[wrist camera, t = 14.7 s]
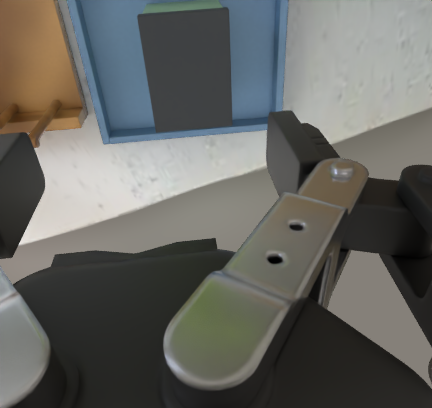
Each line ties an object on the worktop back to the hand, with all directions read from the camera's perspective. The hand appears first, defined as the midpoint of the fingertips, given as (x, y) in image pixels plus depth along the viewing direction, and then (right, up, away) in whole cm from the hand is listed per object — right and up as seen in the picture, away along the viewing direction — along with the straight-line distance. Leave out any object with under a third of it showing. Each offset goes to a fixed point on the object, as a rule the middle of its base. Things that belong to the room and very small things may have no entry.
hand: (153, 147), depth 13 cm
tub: (0, +10, +17) cm, 20 cm away
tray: (0, +10, +18) cm, 21 cm away
